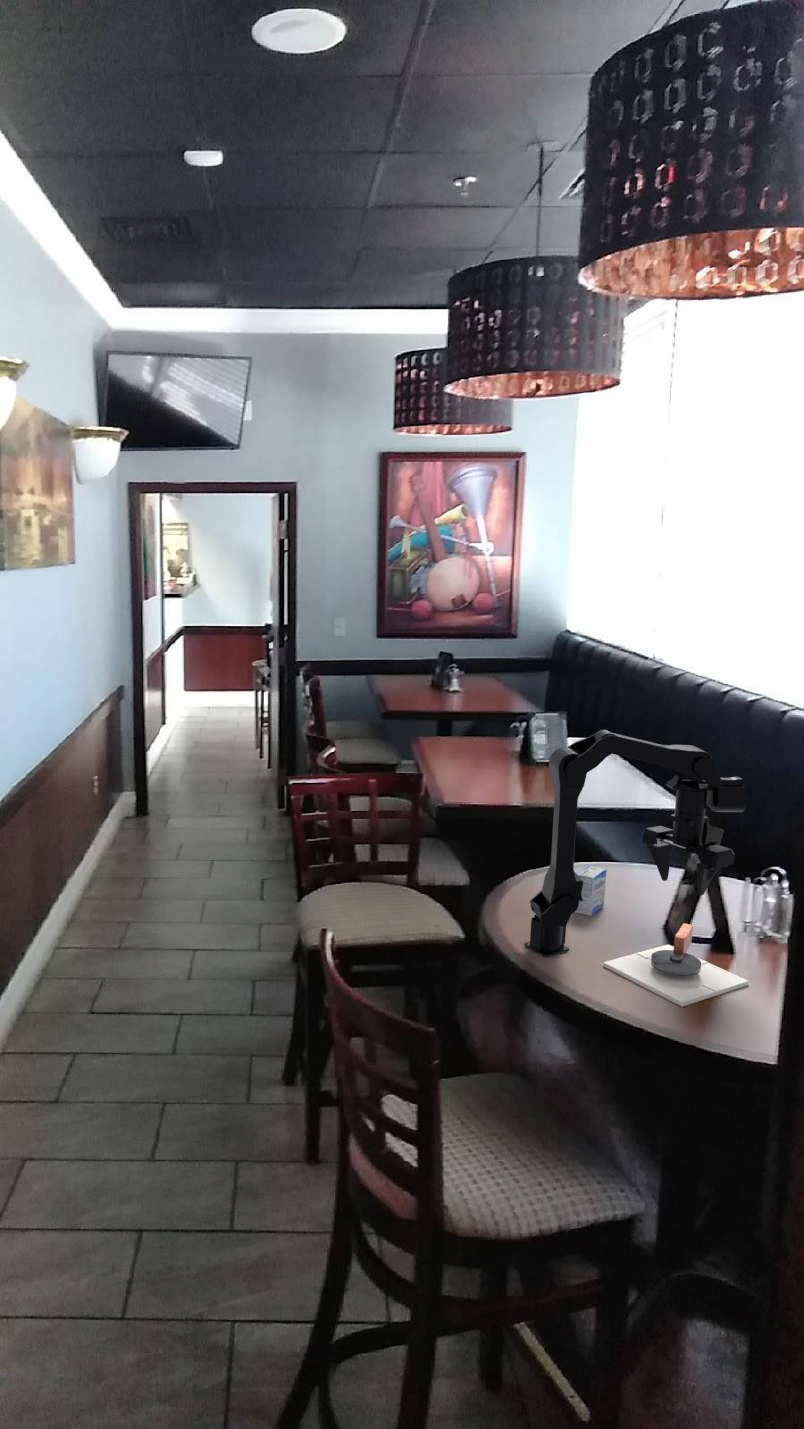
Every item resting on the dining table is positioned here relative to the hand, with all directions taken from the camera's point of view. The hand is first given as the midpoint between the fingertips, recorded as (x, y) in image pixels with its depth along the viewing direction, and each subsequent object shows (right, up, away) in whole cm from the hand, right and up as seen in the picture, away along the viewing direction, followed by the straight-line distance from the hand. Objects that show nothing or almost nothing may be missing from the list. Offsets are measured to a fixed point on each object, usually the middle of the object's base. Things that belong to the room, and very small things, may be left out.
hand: (682, 887), depth 198 cm
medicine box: (-15, -9, +21) cm, 27 cm away
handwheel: (-3, -12, -9) cm, 16 cm away
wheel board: (-5, -14, -11) cm, 19 cm away
